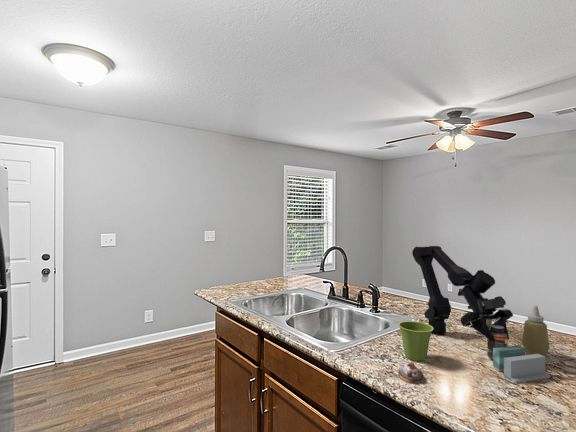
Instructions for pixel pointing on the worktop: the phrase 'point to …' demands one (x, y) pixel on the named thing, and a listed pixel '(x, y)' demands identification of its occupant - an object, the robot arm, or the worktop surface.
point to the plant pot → (415, 339)
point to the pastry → (410, 374)
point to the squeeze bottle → (535, 334)
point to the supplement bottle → (496, 339)
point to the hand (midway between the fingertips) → (501, 340)
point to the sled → (499, 356)
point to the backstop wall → (525, 368)
